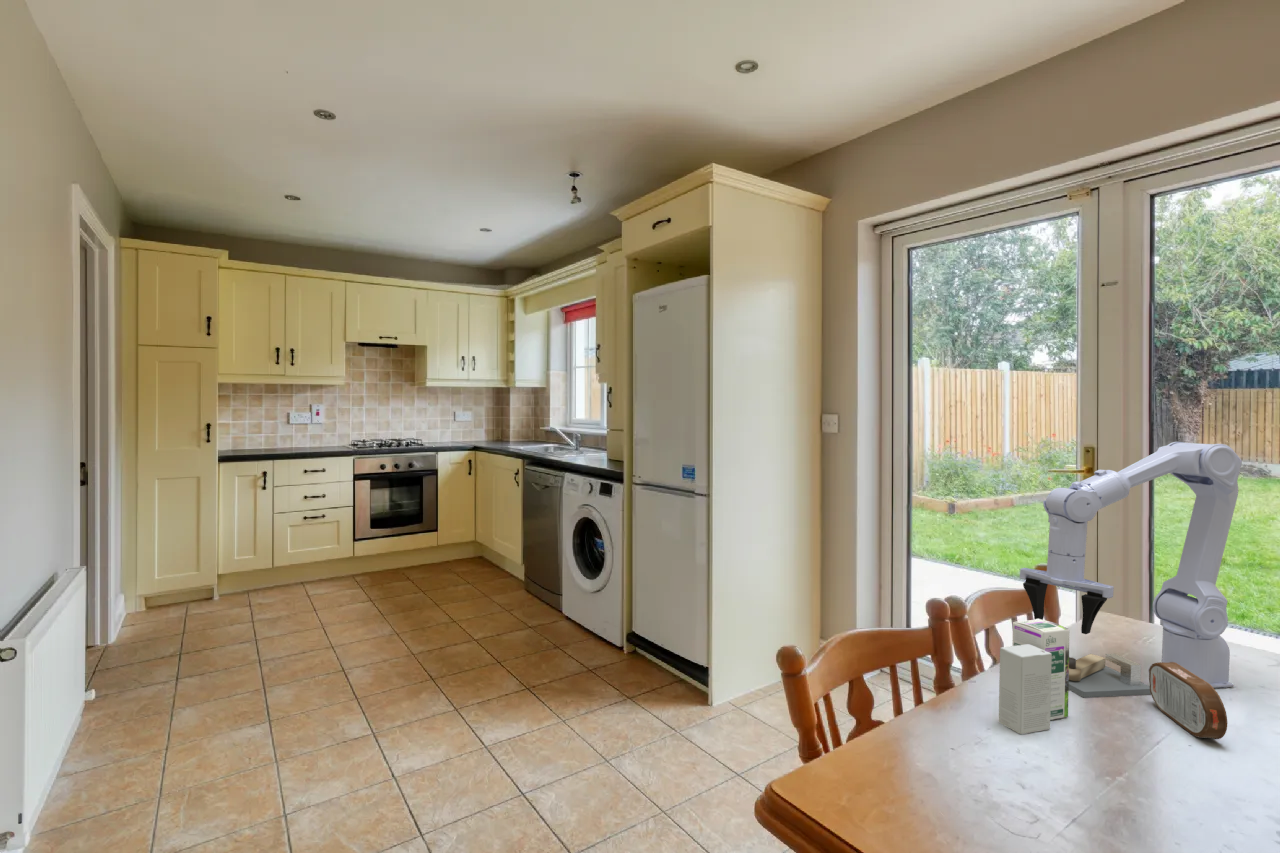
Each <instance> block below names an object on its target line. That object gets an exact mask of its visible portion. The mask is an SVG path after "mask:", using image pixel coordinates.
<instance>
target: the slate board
mask: <svg viewBox="0 0 1280 853" xmlns="http://www.w3.org/2000/svg"><path fill="white" fill-rule="evenodd" d="M1120 675H1121V671H1118V670H1116V669H1114V668H1111V667H1109V666H1107V665H1105V668H1103V669H1101V670H1099V671H1096V672H1094V673H1092V674H1090V675H1088V676H1086V677H1083V678H1081V680H1080V681H1072V680H1069V687H1068V691H1071V692H1072V693H1074V694H1076V695H1078V696H1080V697H1082V698H1085V699H1086V698H1087V699H1088V698H1105V697H1124V696H1126V697H1127V696H1129V697H1130V696H1144V695H1145V696H1147V695H1148V696H1149V695H1151V692H1150V685H1149V684H1146V683H1144V682H1141V683H1140V686H1129V685H1127V684H1125V683H1123V682H1121V681H1120ZM1151 696H1152V695H1151Z"/></svg>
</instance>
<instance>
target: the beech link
mask: <svg viewBox="0 0 1280 853" xmlns="http://www.w3.org/2000/svg"><path fill="white" fill-rule="evenodd" d="M1105 666H1106V659H1105V657H1103V656H1101V655H1097V654H1094V653H1090V654H1087V655H1085V656H1082V657H1080V658H1078V659H1076V658H1074V657H1070V656H1069V680H1072V681H1080V680H1081V678H1083V677H1086V676H1088V675H1090V674H1092V673H1094V672H1096V671H1099V670H1101V669H1103V668H1105Z"/></svg>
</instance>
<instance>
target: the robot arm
mask: <svg viewBox="0 0 1280 853" xmlns="http://www.w3.org/2000/svg"><path fill="white" fill-rule="evenodd" d="M1239 456H1240V455H1238V454H1237V453H1236V452H1235V450H1234V449H1233V448H1232V447H1230V446H1229V445H1227V444H1225V443H1214V444H1213V443H1195V442H1194V443H1193V442H1185V441H1172V442H1170V443H1169V444H1167V445H1163V446H1160V447H1158V448H1157V450H1156V451H1155V452H1154V453H1153V452H1152V454H1150V455H1147V456H1146V457H1144V458H1141V459H1140V460H1138V461H1136V462H1134V463H1132V464H1130V465H1128V466H1126V467H1124V468H1123V469H1120V470H1119V471H1115V470H1112V469H1097V470H1095V471H1093V473H1094V475H1092V476H1090V477H1088V478H1085V479H1083V480H1081V481H1073V482H1071V485H1070V486H1069V487H1068V488H1067V487H1057V488H1054V489H1052V490H1051V491H1050V492H1049V493H1048V495H1047V496H1046V499H1045V500H1043V501H1042V502H1043V503H1042V504H1043V505H1042V506H1043V509H1044V511H1045V512H1046V514H1047V515H1048V523H1049V531H1048V544H1047V548H1048V549H1047V560H1046V561H1047V562H1046V570H1040V569H1035V568H1028V567H1022V568H1020V569H1019V579H1020V580H1025V581H1024V582H1022V586H1023V588H1024V590H1025V592H1026V594H1027V597H1028V599H1029V602H1030V604H1031V609H1032V613H1033V617H1034V619H1033V620H1035V619H1041V620H1044V616H1045V601H1046V600H1045V599H1046V593H1047V589H1048V585H1051V586H1056V587H1061V588H1065V589H1069V590H1074V591H1078V592H1082V593H1085V594H1082V595H1081V597H1080V598H1081V605H1082V619H1081V628H1080V630H1081V634H1083V635H1088V634H1089V633H1091V630H1092V626H1093V623H1094V621H1095V620H1096V616H1097V615H1098V613H1099V611H1100V610H1101V608H1102V607H1103V605H1104V604H1105V602H1107V600H1108V599H1113V598H1114V590H1115V587H1114V585H1109V584H1104V583H1102V582H1097V581H1094V580H1090V579H1087V578H1085V567H1086V554H1087V552H1086V551H1087V538H1088V536H1087V534H1088V522H1091V521H1092V520H1093V519H1094V517H1095V516H1096V514H1097V513H1098V511H1099V510H1102V509H1103V508H1106V507H1108V506H1110V505H1112V504H1114V503H1116V502H1119V501H1121V500H1124V499H1126V498H1127V497H1128V496H1129V494H1130V491H1131V488H1134V487H1137V486H1139V485H1142V484H1144V483H1145V484H1146V483H1148V482H1149V481H1152V480H1154V479H1158V478H1160V477H1163V476H1166V475H1168V474H1171V475H1172V476H1174V477H1175V478H1177V479H1178V480H1179V481H1181V482H1183V483H1184V484H1185V485H1187V486H1188V487H1189V489H1191V490H1192V492H1193V493H1194V494H1195V500H1194V503H1193V508H1192V512H1191V516H1190V520H1189V524H1188V528H1187V533H1186V537H1185V540H1184V543H1183V544H1184V545H1183V547H1182V552H1181V556H1180V560H1179V564H1178V568H1177V573H1176V575H1175V576H1173V577H1170V578H1168V579H1167V580H1165V581H1163V582H1162V585H1161V588H1160V591H1159V592H1158V593H1157V594H1156V596H1155V597H1154V599H1153V602H1152V611H1153V613H1154V615H1155V617H1157V619H1159V621H1160V622H1159V625H1160V626H1162V640H1161V641H1162V642H1161V643H1162V645H1161V648H1162V649H1161V662H1164V663H1169V662H1175V663H1177V664H1179V665H1180V666H1182V667H1184V668H1185V669H1187V670H1188V671H1190V672H1191V673H1193V674H1195V675H1196V676H1198V677H1200V678H1201V679H1203V680H1204V681H1206V682H1208V683H1209V684H1210V685H1211V686H1212V687H1213V688H1214V689H1215V688H1233V687H1234V685H1235V684H1234V683H1232V682H1230V680H1229V678H1230V656H1231V655H1230V646H1229V645H1228V643H1227V641H1226V640H1225V639H1224V638H1223V637H1222V636H1221V635H1222V634H1223V633H1224V632H1225V630H1226V629H1227V627H1228V623H1229V618H1228V614H1227V605H1228V603H1229V602H1228V599H1227V598H1226V596H1225V595H1224V594H1223V593H1222V592H1221V590H1219V588H1218V587H1217V580H1218V577H1219V576H1218V575H1219V571H1220V568H1221V563H1222V560H1223V556H1224V552H1225V548H1226V544H1227V540H1228V536H1229V532H1230V528H1231V524H1232V520H1233V516H1234V513H1235V509H1236V505H1237V500H1238V495H1239V483H1238V482H1239V481H1238V479H1239V475H1240V471H1241V467H1242V464H1243V460H1242V459H1241V458H1240V457H1239ZM1190 595H1191V596H1190ZM1193 596H1194V597H1193Z"/></svg>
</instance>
